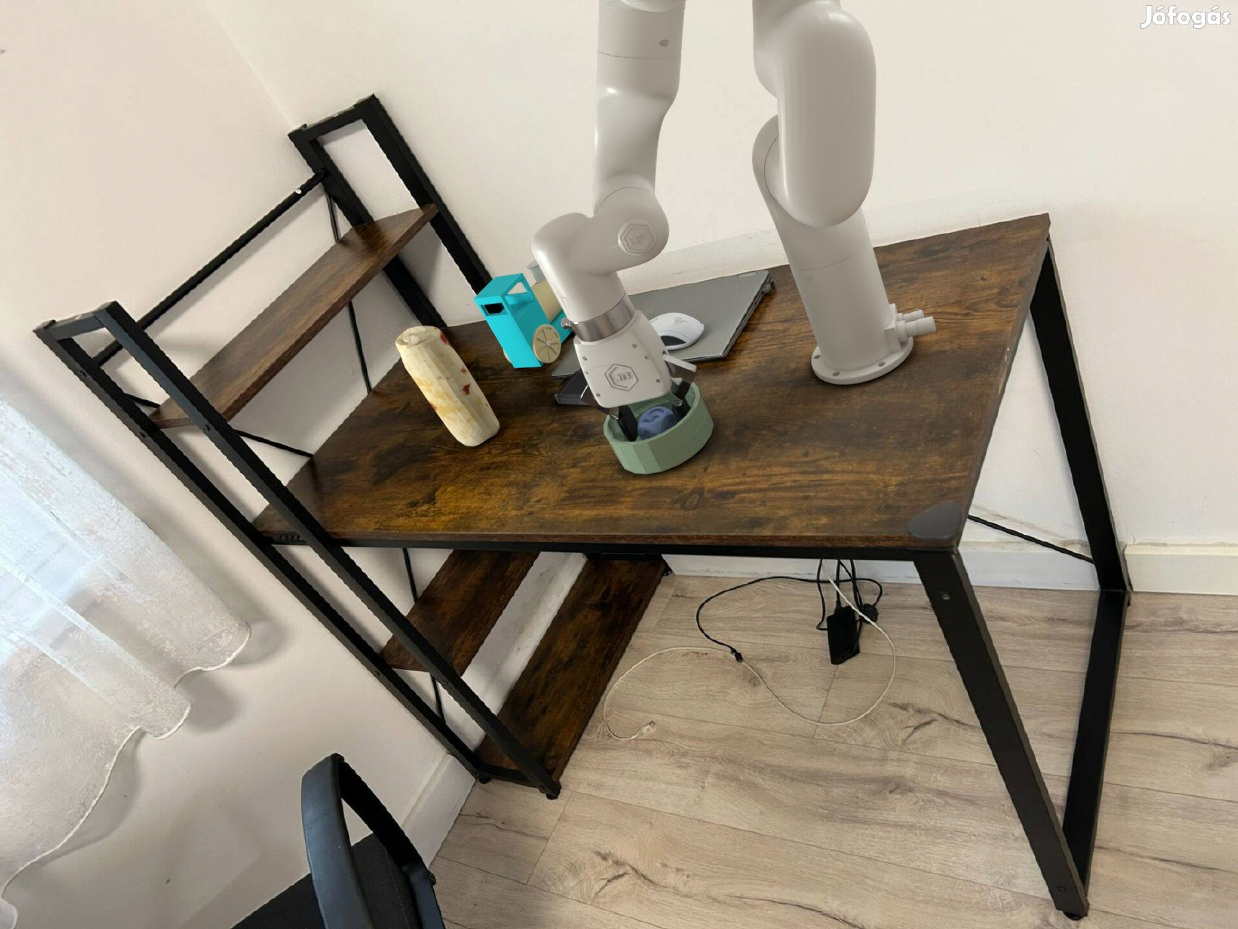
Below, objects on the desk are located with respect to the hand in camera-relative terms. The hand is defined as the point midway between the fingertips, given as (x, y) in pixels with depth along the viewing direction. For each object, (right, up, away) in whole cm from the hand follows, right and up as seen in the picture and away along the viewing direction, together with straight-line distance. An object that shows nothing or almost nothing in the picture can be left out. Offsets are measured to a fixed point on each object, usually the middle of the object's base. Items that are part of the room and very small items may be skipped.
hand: (660, 429), depth 113 cm
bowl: (+1, -2, +1) cm, 2 cm away
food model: (-27, 0, +25) cm, 37 cm away
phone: (-8, +7, +19) cm, 22 cm away
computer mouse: (0, +15, +24) cm, 29 cm away
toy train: (-16, +17, +39) cm, 46 cm away
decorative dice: (+1, -1, +1) cm, 2 cm away
